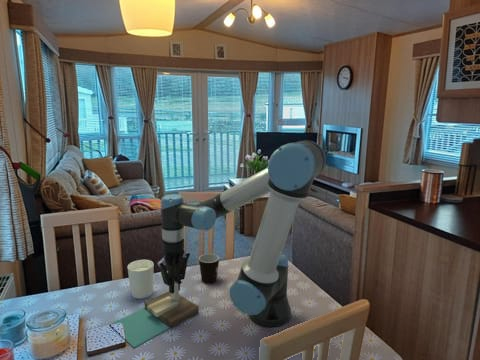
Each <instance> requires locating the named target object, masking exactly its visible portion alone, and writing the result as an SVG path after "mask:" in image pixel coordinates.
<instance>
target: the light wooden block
mask: <svg viewBox="0 0 480 360" xmlns="http://www.w3.org/2000/svg"><path fill="white" fill-rule="evenodd" d="M178 306H179V303H178V302H177V301H175V300H174V299H172V298H171V297H169V296H168V297H166V298H164V299H162V300H159V301H157V302H155V303H153V304H151V305H149V306H147V310H148V312H149V313H150V312H151V313H152V315H153V316H154V315H155V316H156V318H157V317H159V316H161V315H163V314H165V313H166V312H168V311H170V310H172V309H174V308H176V307H178Z"/></svg>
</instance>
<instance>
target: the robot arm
mask: <svg viewBox="0 0 480 360" xmlns="http://www.w3.org/2000/svg"><path fill="white" fill-rule="evenodd" d="M326 160H327V159H326V154H325V151H324V149H323V148H322V147H321V146H320V144H318V143H317V142H315V141H313V140H309V139H307V140H299V141H296V142H288V143H286V144H283V145H281V146H280V147H278V148H276V150H274V151H273V153H272V154H271V155H270V157H269V160H268V163H267V167H266V168H264V169H261V171H258V172H257V173H254V174H253V175H251V176H249V177H248V178H246V179H244V180H242V181H241V182H239V183H237V184H235V185H233V186H231V187H230V188H228V189H226V190H224V191H222V192H221V193H219V194H217V195H215V196H213V197H211V198H209V199H207V200H204V201H202V202H199V203H197V204H190V203H187V202H186V203H185V202H184V197H183V196H182V195H180V194H175V193H173V194H166V195H163V196H162V197H161V200H160V214H161V238H162V241H161V243H162V251H163V254H162V255H161V256H162V259H160V260H158V261H156V265H157V266H158V267H159V270H160V274H161V278H162V281H163V284H165V285H166V286H168V291H169V292H170V293H171V298H172V299H174V300H175V301H178V300H179V295H180V294H179V293H180V290H181V284H182V283H183V280H185V277H186V271H187V267H188V266H187V265H188V261H189V258H190V255H191V253H190V252H187V251H186V250H185V230H184V229H185V228H184V227H188V228H192V229H196V230H200V231H210V230H212V229H213V226H215V224H216V221H217V219H219V218H221V217H223V216H225V215H227V214H229V213H231V212H233V211H235V210H237V209H238V208H241V207H243V206H245V205H246V204H249V203H251V202H252V201H255V200H257V199H259V198H261V197H263V196H265V195H267V194H269V196H268V198H267V202H266V205H265V208H264V211H263V215H262V217H261V221H260V225H259V228H258V230H257V234H256V237H255V240H254V243H253V246H252V250H251V253H250V256H249V258H248V259H245V260H244V261H243V262H242V264H241V269H240V271H239V274H238V277H237V279H236V280H234V281H233V283H232V284H231V286H230V287H229V298H230V300H231V302H232V303H233V306H234V307H235V308H236V309H237V310H238V311H240V313H243V314H245V315H247V316H249V317H248V318H249V319H250V320H251V321H252V322H254V323H255V324H257V325H259V326H263V327H268V328H276V327H281V326H282V327H283V326H285V325H286V324H287V323H288V322H290V320H291V317H292V309H291V305H290V302H289V299H288V295H287V294H288V276H289V275H288V274H289V258H288V256H287V255H285V254H284V253H283V250H284V248H285V244H286V241H287V238H288V236H289V233H290V230H291V227H292V225H293V221H294V219H295V217H296V213H297V210H298V208H299V204H300V202H301V201H303V200H305V199H307V198H308V196H309V193H310V191H311V187H312V185H313V182H314V179H315V178H317V177H318V176H320V174H321V173H322V172H323V171H324V168H325V166H326Z"/></svg>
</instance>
